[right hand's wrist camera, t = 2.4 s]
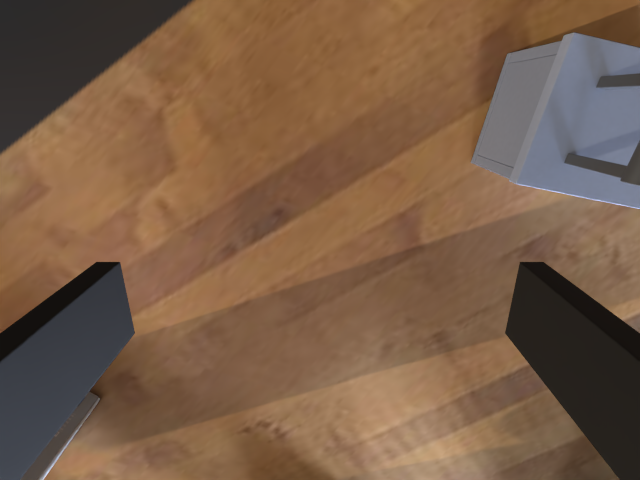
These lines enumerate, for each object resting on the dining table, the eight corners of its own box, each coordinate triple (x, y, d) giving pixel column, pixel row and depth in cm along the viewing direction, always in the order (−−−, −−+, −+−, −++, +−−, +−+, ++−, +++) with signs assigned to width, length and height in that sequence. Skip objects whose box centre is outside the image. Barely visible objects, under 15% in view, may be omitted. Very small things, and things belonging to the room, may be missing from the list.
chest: (470, 162, 36) (517, 182, 27) (507, 53, 33) (573, 37, 24) (601, 189, 37) (686, 216, 28) (650, 85, 34) (762, 81, 25)
